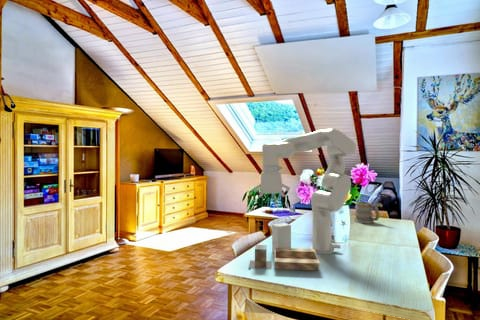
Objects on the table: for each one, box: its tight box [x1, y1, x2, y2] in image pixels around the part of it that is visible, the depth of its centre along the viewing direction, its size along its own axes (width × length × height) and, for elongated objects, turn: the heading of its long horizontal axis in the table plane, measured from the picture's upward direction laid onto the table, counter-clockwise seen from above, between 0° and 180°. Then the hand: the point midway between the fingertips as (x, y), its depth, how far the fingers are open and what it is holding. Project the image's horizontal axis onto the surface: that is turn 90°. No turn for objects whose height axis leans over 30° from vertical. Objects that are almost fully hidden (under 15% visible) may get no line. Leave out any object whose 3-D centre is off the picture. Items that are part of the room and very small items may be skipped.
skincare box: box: [271, 222, 292, 253], centre depth 169 cm, size 8×6×15 cm
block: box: [254, 244, 267, 267], centre depth 150 cm, size 5×7×8 cm
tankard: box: [353, 201, 384, 224], centre depth 242 cm, size 20×13×15 cm, turn 43°
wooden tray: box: [273, 247, 321, 271], centre depth 151 cm, size 19×20×5 cm
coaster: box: [248, 259, 272, 270], centre depth 150 cm, size 10×10×1 cm
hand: (271, 205), depth 157 cm, fingers open, 9 cm apart
